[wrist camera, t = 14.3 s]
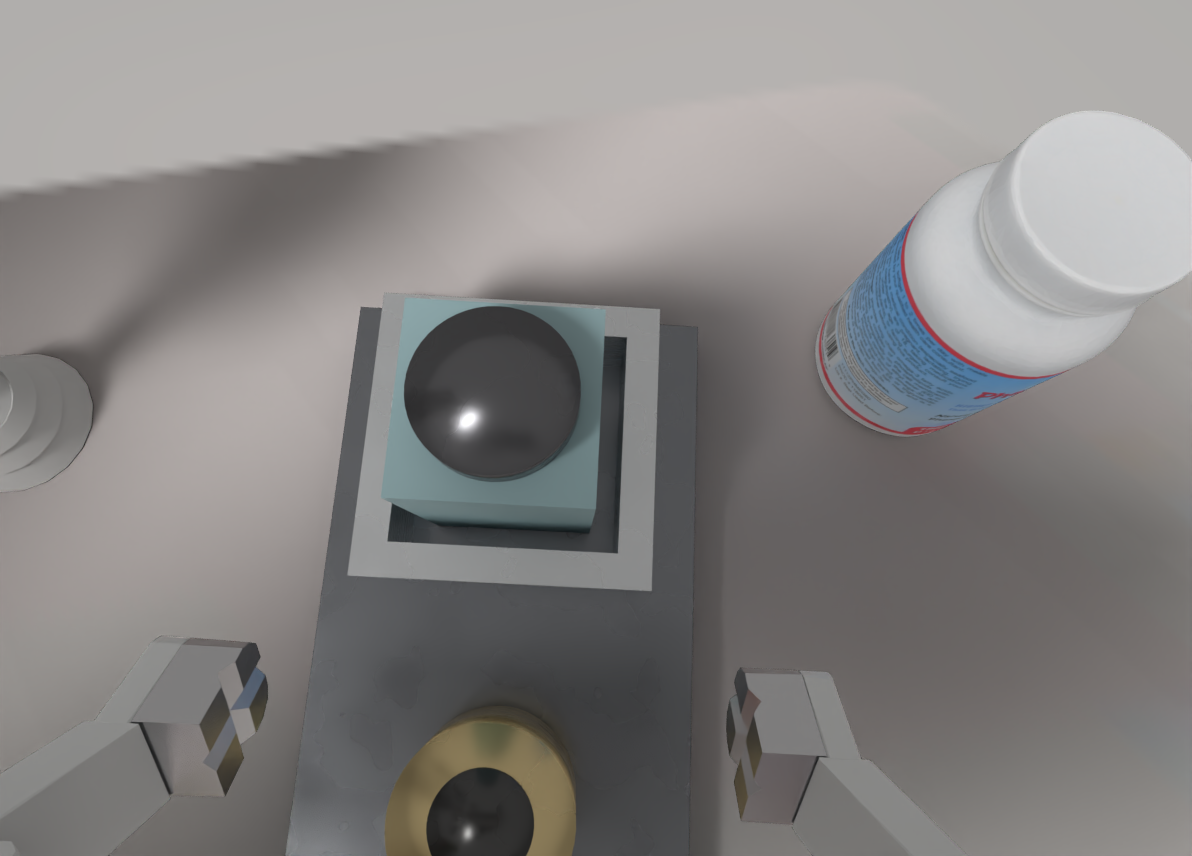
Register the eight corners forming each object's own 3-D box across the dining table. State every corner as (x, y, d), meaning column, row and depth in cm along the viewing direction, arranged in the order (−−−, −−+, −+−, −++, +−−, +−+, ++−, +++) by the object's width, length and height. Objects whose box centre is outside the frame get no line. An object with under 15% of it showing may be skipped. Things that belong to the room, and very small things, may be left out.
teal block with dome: (438, 525, 23) (368, 491, 15) (452, 381, 24) (394, 280, 16) (589, 533, 23) (597, 503, 15) (596, 388, 24) (607, 292, 16)
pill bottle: (916, 472, 25) (1176, 382, 14) (779, 373, 26) (929, 217, 15) (998, 349, 27) (1295, 180, 16) (865, 258, 27) (1060, 36, 16)
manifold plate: (292, 929, 21) (218, 1018, 17) (372, 323, 26) (330, 267, 22) (679, 945, 22) (707, 1037, 17) (690, 341, 26) (714, 290, 22)
